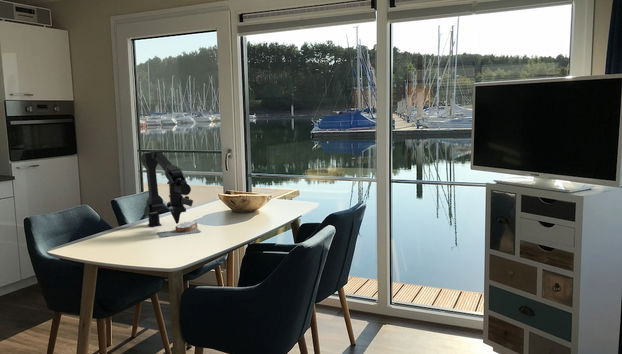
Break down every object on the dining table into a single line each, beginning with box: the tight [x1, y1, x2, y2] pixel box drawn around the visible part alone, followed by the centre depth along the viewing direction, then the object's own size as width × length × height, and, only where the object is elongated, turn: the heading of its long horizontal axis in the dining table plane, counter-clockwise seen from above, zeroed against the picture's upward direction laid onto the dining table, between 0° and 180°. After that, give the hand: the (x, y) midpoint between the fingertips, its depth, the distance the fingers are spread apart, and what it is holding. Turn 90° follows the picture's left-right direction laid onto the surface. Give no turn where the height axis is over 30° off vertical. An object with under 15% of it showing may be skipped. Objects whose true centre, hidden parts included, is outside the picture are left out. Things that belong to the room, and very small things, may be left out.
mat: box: [156, 227, 202, 238], centre depth 271 cm, size 11×20×1 cm, turn 116°
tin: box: [175, 221, 198, 233], centre depth 276 cm, size 15×3×8 cm
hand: (177, 223), depth 273 cm, fingers closed
